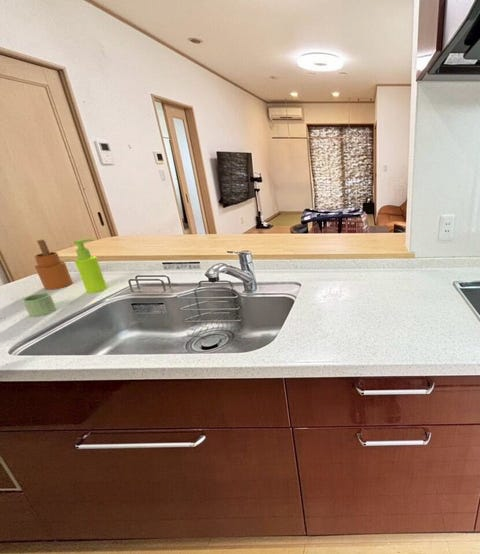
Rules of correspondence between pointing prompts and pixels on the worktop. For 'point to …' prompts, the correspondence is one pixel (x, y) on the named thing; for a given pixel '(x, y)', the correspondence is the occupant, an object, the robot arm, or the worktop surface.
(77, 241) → the soap dispenser
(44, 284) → the orange brown jar
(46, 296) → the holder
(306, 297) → the worktop surface
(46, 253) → the brush
